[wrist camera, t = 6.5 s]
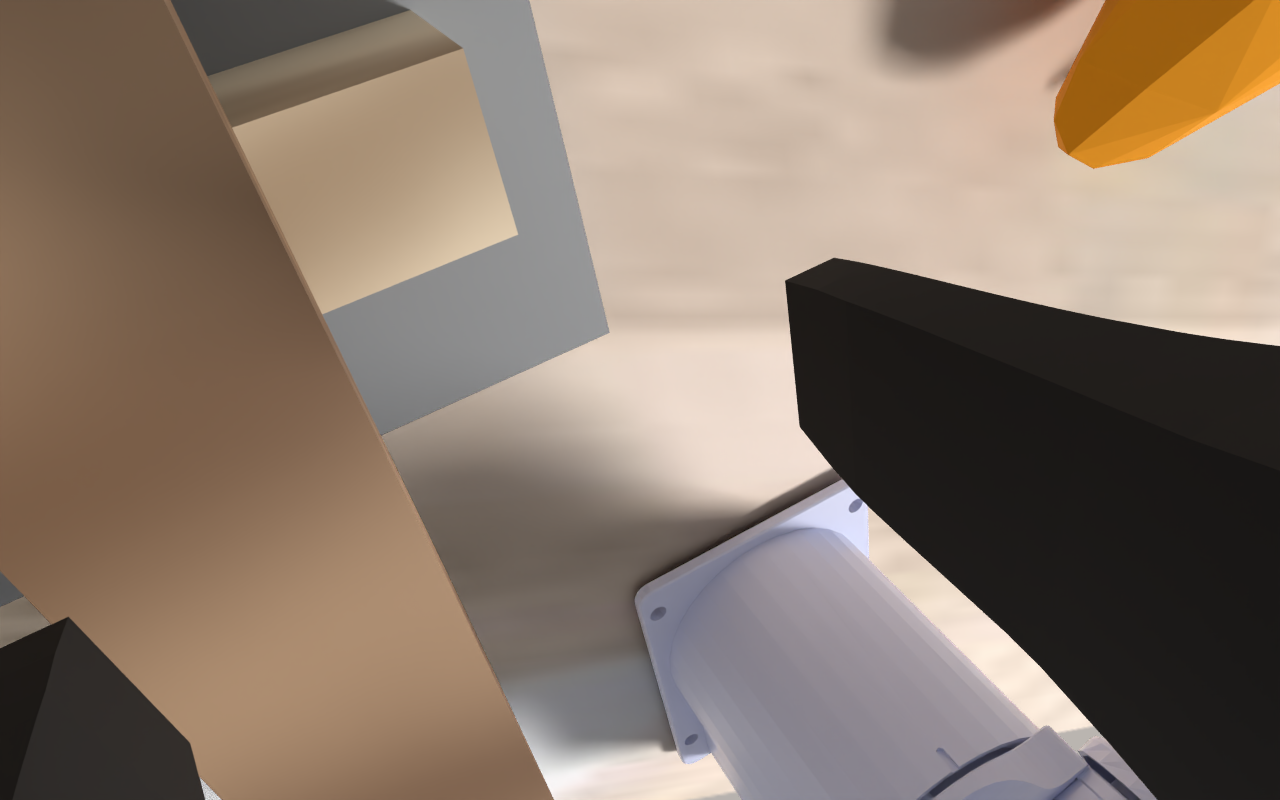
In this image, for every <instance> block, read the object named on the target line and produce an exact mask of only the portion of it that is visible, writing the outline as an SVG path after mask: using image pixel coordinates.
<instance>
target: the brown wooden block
mask: <svg viewBox="0 0 1280 800" xmlns="http://www.w3.org/2000/svg"><path fill="white" fill-rule="evenodd" d="M0 572H1V573H2V574H3V575H4V576H5V577H6V578H7V579H8V580H9V581H10V582H11V583H12V584H13V585H14V586H15V587H16V588H17V589H18V590H19V591H20V592H21V593H22V594H23V595H24V596H25V597H26V598H27V599H28V600H29V601H30V602H31V604H32V605H33V606H34V607H35V608H36V609H37V610H38V611H39V612H40V613H41V614H42V615H43V616H44V617H45V618H46V619H47V620H48V621H49V622H50V623H51V624H54V623H56V622H58V621H60V620H62V619H64V618H66V617H69V618H70V619H71V620H72V621H73V622H74V623H75V624H76V625H77V626H78V627H79V628H80V629H81V630H82V631H83V632H84V633H85V634H86V635H87V636H88V637H89V638H90V639H91V640H92V642H93V643H94V644H95V645H96V646H97V647H98V648H99V649H100V650H101V651H102V652H103V653H104V654H105V655H106V656H107V657H108V658H109V659H110V660H111V661H112V662H113V663H114V664H115V665H116V666H117V667H118V668H119V670H120V671H121V672H122V673H123V674H124V675H125V676H126V677H127V678H128V679H129V680H130V681H131V682H132V683H133V684H134V685H135V686H136V687H137V688H138V689H139V690H140V691H141V692H142V693H143V694H144V695H145V697H146V698H147V699H148V700H149V701H150V702H151V703H152V704H153V705H154V706H155V707H156V708H157V709H158V710H159V711H160V712H161V713H162V714H163V715H164V716H165V717H166V718H167V719H168V720H169V721H170V722H171V723H172V725H173V726H174V727H175V728H176V729H177V730H178V731H179V732H180V733H181V734H182V735H183V736H184V737H185V738H186V739H187V740H188V741H189V742H190V744H191V748H192V752H193V755H194V759H195V763H196V767H197V771H198V774H199V777H200V778H201V779H202V780H203V781H204V782H205V783H206V784H207V785H208V786H209V787H210V788H211V789H212V790H213V791H214V792H215V793H216V794H217V795H218V796H219V797H220V798H221V799H222V800H554V799H553V797H552V795H551V793H550V790H549V788H548V786H547V784H546V782H545V780H544V778H543V775H542V773H541V771H540V769H539V767H538V765H537V763H536V761H535V758H534V756H533V754H532V752H531V750H530V748H529V746H528V743H527V741H526V739H525V737H524V735H523V733H522V731H521V728H520V726H519V724H518V722H517V720H516V718H515V716H514V714H513V711H512V709H511V707H510V705H509V703H508V701H507V699H506V696H505V694H504V692H503V690H502V688H501V686H500V684H499V682H498V679H497V677H496V675H495V673H494V671H493V669H492V667H491V664H490V662H489V660H488V658H487V656H486V654H485V652H484V650H483V647H482V645H481V643H480V641H479V639H478V637H477V635H476V632H475V630H474V628H473V626H472V624H471V622H470V620H469V618H468V615H467V613H466V611H465V609H464V607H463V605H462V603H461V601H460V599H459V597H458V594H457V592H456V590H455V588H454V586H453V584H452V582H451V580H450V578H449V576H448V574H447V572H446V570H445V568H444V565H443V563H442V561H441V559H440V557H439V555H438V553H437V551H436V549H435V547H434V545H433V543H432V541H431V539H430V536H429V534H428V532H427V530H426V528H425V526H424V524H423V522H422V520H421V518H420V516H419V514H418V512H417V510H416V507H415V505H414V503H413V501H412V499H411V497H410V495H409V493H408V491H407V489H406V487H405V485H404V483H403V481H402V479H401V476H400V474H399V472H398V470H397V468H396V466H395V464H394V462H393V460H392V458H391V456H390V454H389V452H388V450H387V447H386V445H385V443H384V441H383V439H382V437H381V435H380V433H379V431H378V429H377V427H376V425H375V423H374V421H373V418H372V416H371V414H370V412H369V410H368V408H367V406H366V404H365V402H364V400H363V398H362V396H361V394H360V392H359V389H358V387H357V385H356V383H355V381H354V379H353V377H352V375H351V373H350V371H349V369H348V367H347V365H346V363H345V361H344V358H343V356H342V354H341V352H340V350H339V348H338V346H337V344H336V342H335V340H334V338H333V336H332V334H331V332H330V329H329V327H328V325H327V323H326V321H325V319H324V317H323V315H322V313H321V311H320V309H319V307H318V305H317V303H316V300H315V298H314V296H313V294H312V292H311V290H310V288H309V286H308V284H307V282H306V280H305V278H304V276H303V274H302V271H301V269H300V267H299V265H298V263H297V261H296V259H295V257H294V255H293V253H292V251H291V249H290V247H289V245H288V243H287V240H286V238H285V236H284V234H283V232H282V230H281V228H280V226H279V224H278V222H277V220H276V218H275V216H274V214H273V211H272V209H271V207H270V205H269V203H268V201H267V199H266V197H265V195H264V193H263V191H262V189H261V187H260V185H259V182H258V180H257V178H256V176H255V174H254V172H253V170H252V168H251V166H250V164H249V162H248V160H247V158H246V156H245V153H244V151H243V149H242V147H241V145H240V143H239V141H238V139H237V137H236V135H235V133H234V131H233V129H232V127H231V125H230V122H229V120H228V118H227V116H226V114H225V112H224V110H223V108H222V106H221V104H220V102H219V100H218V98H217V96H216V93H215V91H214V89H213V87H212V85H211V83H210V81H209V79H208V77H207V75H206V73H205V71H204V69H203V67H202V64H201V62H200V60H199V58H198V56H197V54H196V52H195V50H194V48H193V46H192V44H191V42H190V40H189V38H188V35H187V33H186V31H185V29H184V27H183V25H182V23H181V21H180V19H179V17H178V15H177V13H176V11H175V9H174V7H173V4H172V2H171V0H0Z"/></svg>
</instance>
